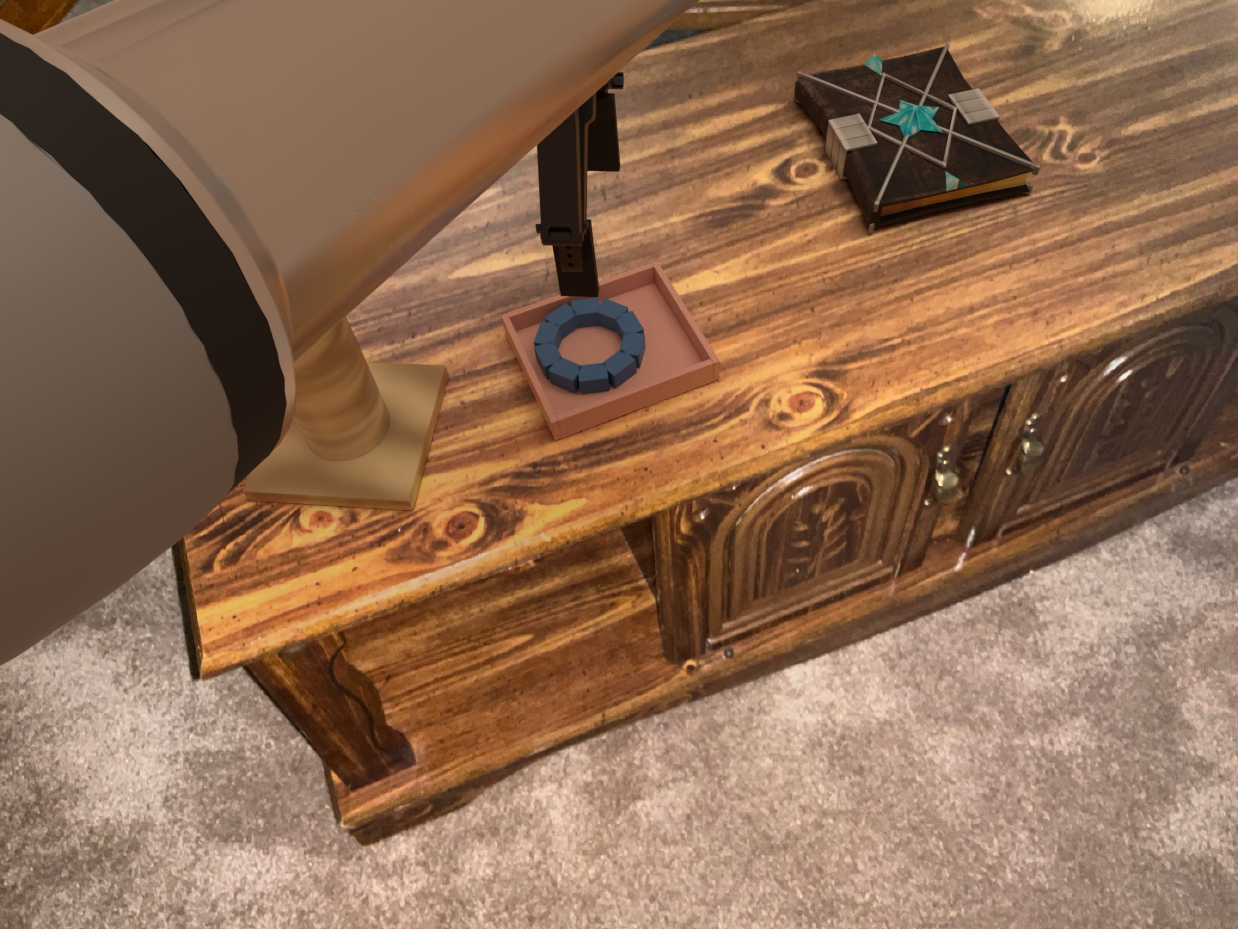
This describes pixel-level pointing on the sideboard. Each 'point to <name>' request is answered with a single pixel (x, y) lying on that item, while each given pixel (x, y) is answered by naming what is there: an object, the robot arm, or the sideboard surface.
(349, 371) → the tan post with base
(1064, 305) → the sideboard surface
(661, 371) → the tray
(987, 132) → the book
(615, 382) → the ring
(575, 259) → the robot arm
